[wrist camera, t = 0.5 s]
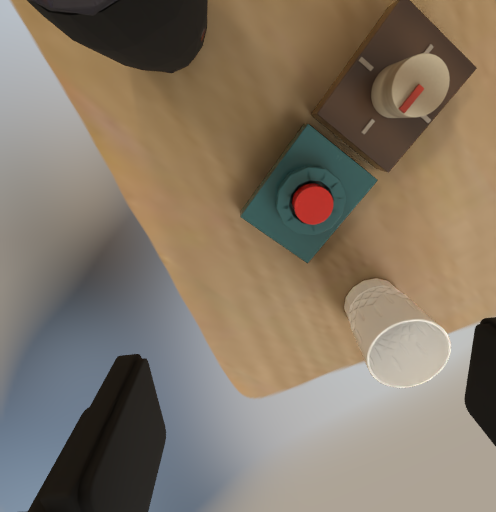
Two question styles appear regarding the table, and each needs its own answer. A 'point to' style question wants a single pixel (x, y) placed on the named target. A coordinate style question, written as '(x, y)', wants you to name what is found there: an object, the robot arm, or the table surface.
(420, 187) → the table surface
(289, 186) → the button block
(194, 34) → the portable speaker
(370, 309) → the white cup
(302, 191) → the button
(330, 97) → the dial panel
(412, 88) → the dial
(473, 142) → the table surface
